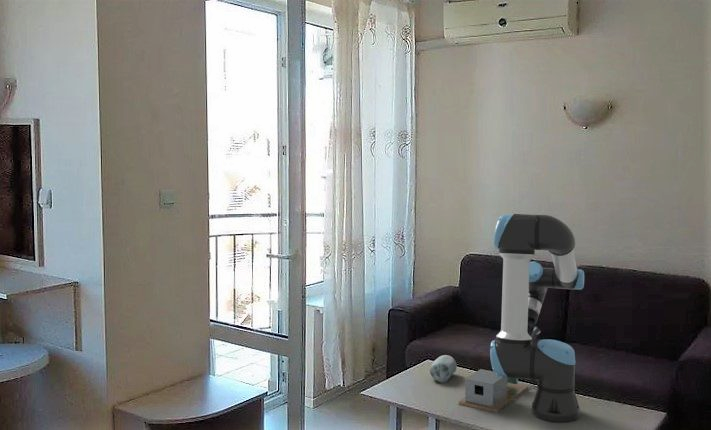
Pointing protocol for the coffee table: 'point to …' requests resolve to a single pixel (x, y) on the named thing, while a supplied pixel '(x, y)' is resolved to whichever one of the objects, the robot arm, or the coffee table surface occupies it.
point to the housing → (490, 391)
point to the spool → (443, 368)
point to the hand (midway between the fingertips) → (511, 366)
